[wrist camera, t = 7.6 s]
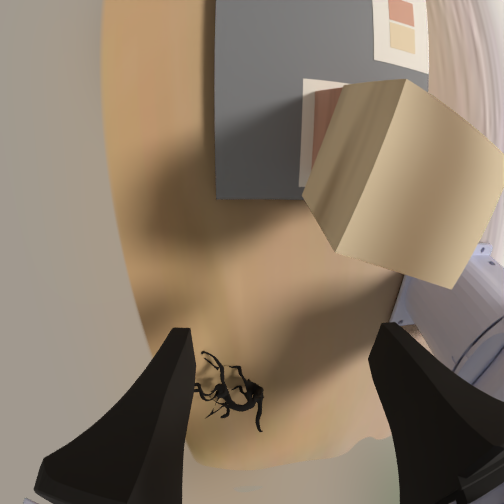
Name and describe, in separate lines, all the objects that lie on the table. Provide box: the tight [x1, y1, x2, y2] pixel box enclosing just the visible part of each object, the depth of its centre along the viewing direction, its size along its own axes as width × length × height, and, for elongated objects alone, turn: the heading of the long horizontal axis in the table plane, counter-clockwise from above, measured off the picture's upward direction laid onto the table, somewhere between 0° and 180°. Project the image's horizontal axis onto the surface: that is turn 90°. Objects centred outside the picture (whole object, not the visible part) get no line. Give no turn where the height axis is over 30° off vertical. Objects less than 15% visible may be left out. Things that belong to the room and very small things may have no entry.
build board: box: [215, 0, 429, 200], centre depth 14 cm, size 13×16×1 cm
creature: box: [194, 352, 264, 432], centre depth 24 cm, size 8×5×8 cm
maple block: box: [302, 79, 504, 290], centre depth 9 cm, size 5×5×5 cm
